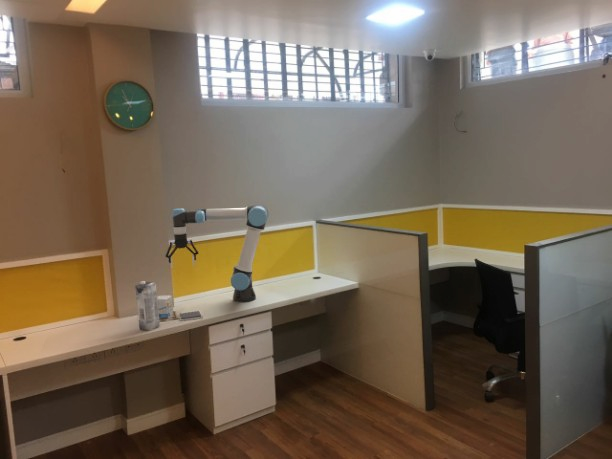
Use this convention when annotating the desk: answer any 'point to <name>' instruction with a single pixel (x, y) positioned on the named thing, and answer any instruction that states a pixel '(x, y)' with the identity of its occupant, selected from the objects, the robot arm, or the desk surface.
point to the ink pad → (190, 315)
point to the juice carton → (147, 305)
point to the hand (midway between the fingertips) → (183, 266)
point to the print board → (172, 317)
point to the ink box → (165, 306)
